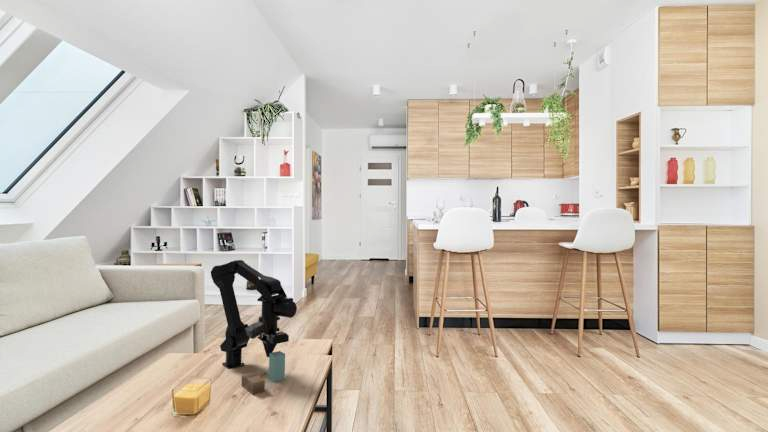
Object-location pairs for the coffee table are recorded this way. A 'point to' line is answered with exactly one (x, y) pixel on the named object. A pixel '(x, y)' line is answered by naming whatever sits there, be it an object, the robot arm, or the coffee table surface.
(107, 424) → the coffee table surface
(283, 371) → the teal block
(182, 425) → the coffee table surface
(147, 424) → the coffee table surface
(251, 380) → the walnut block
